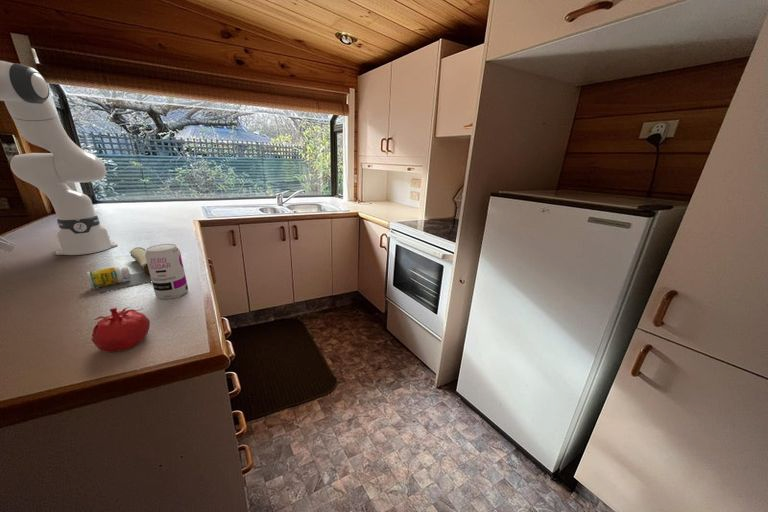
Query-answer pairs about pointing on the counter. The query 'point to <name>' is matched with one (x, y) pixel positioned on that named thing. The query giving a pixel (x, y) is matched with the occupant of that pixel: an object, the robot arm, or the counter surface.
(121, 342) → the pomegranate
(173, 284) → the supplement can
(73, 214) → the robot arm
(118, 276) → the supplement bottle
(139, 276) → the mat
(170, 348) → the counter surface
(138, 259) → the rolling pin
